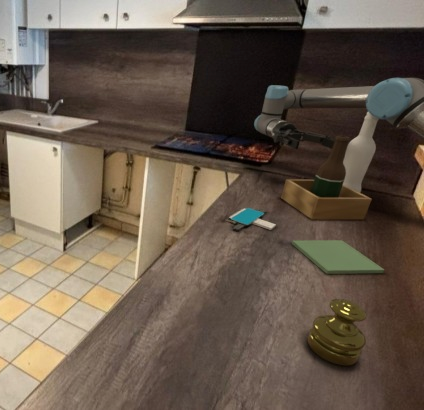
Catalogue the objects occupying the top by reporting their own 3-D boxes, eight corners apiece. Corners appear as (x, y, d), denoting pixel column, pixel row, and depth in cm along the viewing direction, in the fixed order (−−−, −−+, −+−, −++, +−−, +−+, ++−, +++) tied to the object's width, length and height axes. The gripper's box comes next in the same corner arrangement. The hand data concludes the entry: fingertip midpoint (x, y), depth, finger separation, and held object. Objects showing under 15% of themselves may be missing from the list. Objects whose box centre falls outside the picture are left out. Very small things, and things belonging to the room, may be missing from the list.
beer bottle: (333, 206, 120) (357, 135, 110) (334, 215, 113) (359, 140, 104) (306, 201, 123) (327, 132, 113) (306, 209, 117) (328, 136, 107)
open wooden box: (364, 219, 111) (372, 198, 108) (311, 219, 110) (318, 198, 107) (326, 198, 127) (333, 179, 124) (280, 198, 126) (286, 179, 123)
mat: (383, 273, 84) (384, 269, 84) (326, 274, 83) (327, 270, 83) (340, 243, 97) (341, 240, 96) (291, 243, 96) (292, 240, 95)
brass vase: (346, 374, 57) (368, 326, 53) (298, 345, 63) (315, 299, 59) (364, 354, 61) (385, 307, 57) (317, 328, 67) (334, 283, 63)
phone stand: (258, 239, 97) (260, 234, 97) (218, 224, 105) (219, 219, 104) (285, 218, 110) (287, 213, 109) (247, 206, 118) (248, 201, 117)
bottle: (336, 198, 127) (365, 112, 115) (328, 190, 134) (354, 108, 122) (362, 201, 125) (394, 114, 113) (352, 192, 132) (381, 110, 120)
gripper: (309, 141, 141) (348, 157, 122) (248, 139, 140) (278, 155, 120) (315, 122, 138) (356, 135, 119) (253, 120, 136) (284, 133, 117)
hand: (317, 145), depth 120 cm, fingers open, 13 cm apart
